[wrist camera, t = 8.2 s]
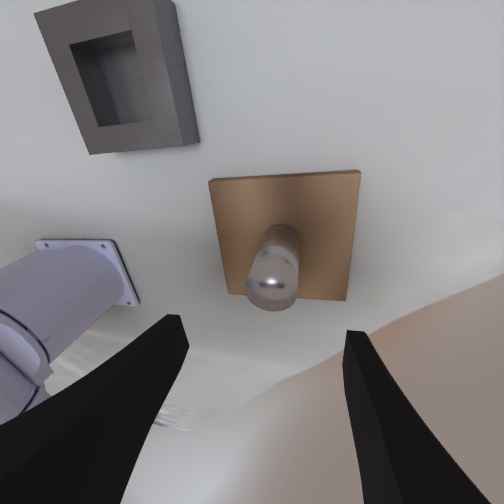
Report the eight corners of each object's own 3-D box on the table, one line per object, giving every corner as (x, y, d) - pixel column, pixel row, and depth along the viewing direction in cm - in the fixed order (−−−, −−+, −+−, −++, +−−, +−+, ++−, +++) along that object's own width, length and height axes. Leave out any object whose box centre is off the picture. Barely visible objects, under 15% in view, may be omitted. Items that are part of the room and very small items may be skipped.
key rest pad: (231, 287, 22) (228, 293, 21) (212, 178, 17) (208, 181, 16) (344, 293, 20) (345, 301, 19) (358, 170, 15) (361, 172, 14)
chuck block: (115, 150, 18) (89, 154, 16) (73, 29, 14) (33, 13, 12) (199, 142, 16) (183, 145, 14) (174, 3, 13) (147, -21, 11)
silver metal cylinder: (268, 260, 18) (253, 313, 13) (258, 228, 17) (237, 273, 12) (303, 253, 18) (302, 308, 12) (295, 219, 16) (290, 265, 11)
